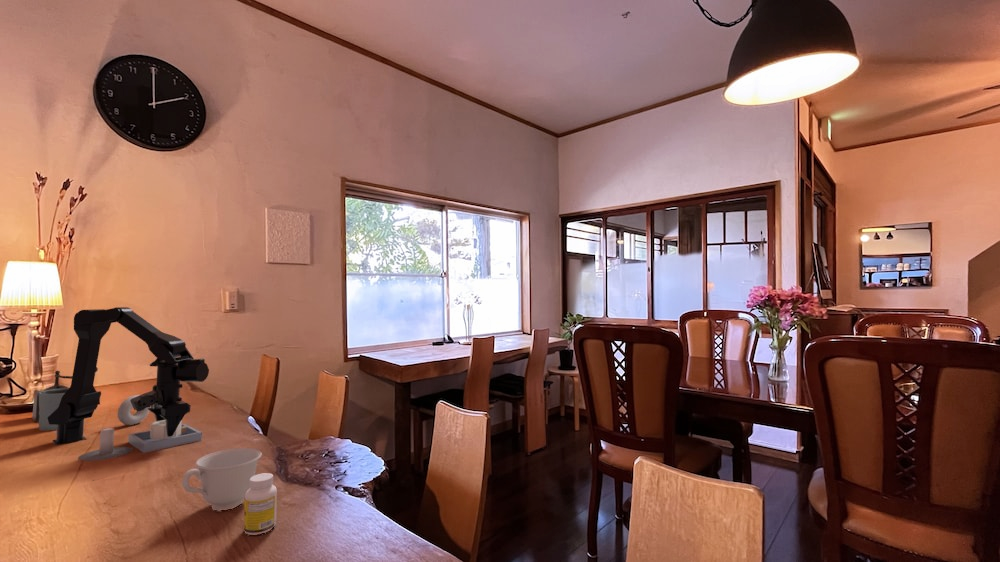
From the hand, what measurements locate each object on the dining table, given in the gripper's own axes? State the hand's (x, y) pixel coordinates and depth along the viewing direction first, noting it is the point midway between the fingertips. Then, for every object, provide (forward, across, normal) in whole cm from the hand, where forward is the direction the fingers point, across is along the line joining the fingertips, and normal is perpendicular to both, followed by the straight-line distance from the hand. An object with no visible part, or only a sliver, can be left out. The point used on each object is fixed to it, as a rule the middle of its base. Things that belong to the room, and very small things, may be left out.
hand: (165, 433), depth 131 cm
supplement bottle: (+3, +72, -6) cm, 72 cm away
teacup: (+3, +57, -7) cm, 58 cm away
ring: (+1, 0, 0) cm, 1 cm away
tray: (+3, 0, 0) cm, 3 cm away
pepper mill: (+3, -63, -12) cm, 64 cm away
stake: (+3, 0, -14) cm, 14 cm away
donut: (+3, -31, 0) cm, 31 cm away
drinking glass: (+3, -46, -16) cm, 49 cm away
